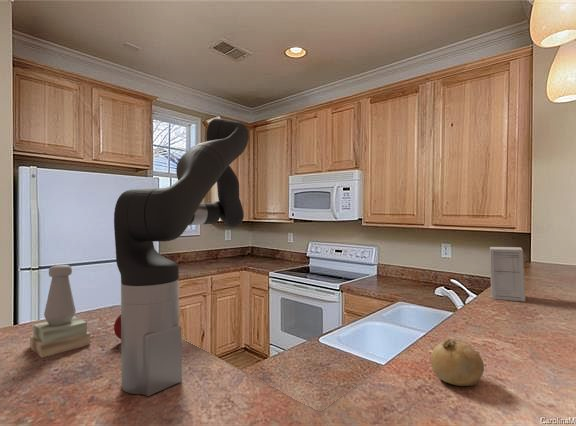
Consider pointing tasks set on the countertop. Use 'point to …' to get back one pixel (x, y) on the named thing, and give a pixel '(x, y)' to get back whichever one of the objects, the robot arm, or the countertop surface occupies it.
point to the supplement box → (507, 273)
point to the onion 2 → (457, 363)
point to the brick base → (59, 345)
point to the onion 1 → (118, 327)
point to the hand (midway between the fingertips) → (137, 213)
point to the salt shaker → (60, 297)
